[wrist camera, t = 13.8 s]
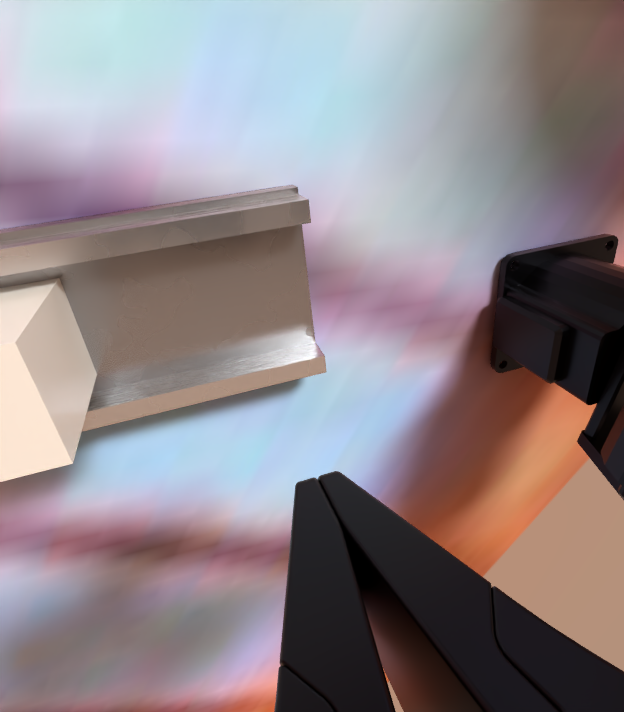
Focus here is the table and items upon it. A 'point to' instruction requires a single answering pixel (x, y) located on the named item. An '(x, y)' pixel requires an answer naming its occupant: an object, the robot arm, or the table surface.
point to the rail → (179, 297)
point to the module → (40, 379)
